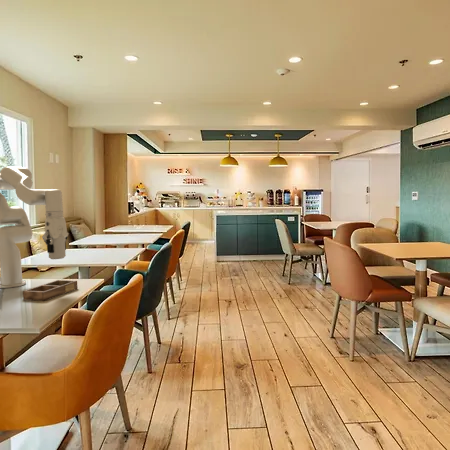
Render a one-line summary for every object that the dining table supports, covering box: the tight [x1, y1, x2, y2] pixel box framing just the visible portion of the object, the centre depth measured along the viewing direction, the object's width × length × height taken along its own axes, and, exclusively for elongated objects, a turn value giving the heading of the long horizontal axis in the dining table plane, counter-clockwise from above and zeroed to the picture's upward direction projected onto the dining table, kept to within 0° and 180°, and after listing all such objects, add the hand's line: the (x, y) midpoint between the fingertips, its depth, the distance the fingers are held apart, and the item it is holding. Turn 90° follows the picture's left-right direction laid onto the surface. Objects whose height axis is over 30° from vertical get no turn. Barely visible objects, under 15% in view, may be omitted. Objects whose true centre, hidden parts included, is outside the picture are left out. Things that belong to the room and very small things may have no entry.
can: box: [48, 234, 67, 260], centre depth 174 cm, size 8×8×12 cm
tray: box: [22, 279, 78, 302], centre depth 170 cm, size 12×22×4 cm, turn 164°
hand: (56, 251), depth 174 cm, fingers closed on can, 7 cm apart
